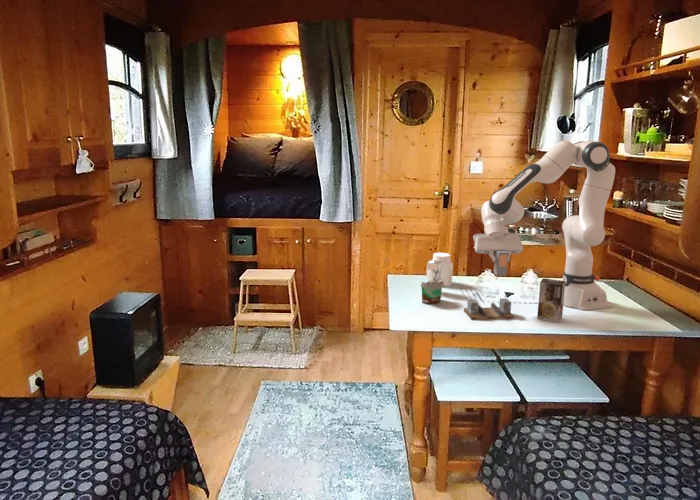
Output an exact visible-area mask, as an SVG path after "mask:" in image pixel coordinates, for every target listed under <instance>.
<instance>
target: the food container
mask: <svg viewBox="0 0 700 500" xmlns="http://www.w3.org/2000/svg"><path fill="white" fill-rule="evenodd" d="M420 287H421V303H422V304H424V305H425V304H426V305H438V304H440V303H441V298H442V292H443V291H442V290H443V287H445V286H444V282H443V279H441V278H438V280H435V281H429V282H428V281H427V282H425V281H421V284H420Z"/></svg>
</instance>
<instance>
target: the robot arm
mask: <svg viewBox="0 0 700 500" xmlns="http://www.w3.org/2000/svg"><path fill="white" fill-rule="evenodd" d="M573 165H575V166H578V167H582V168H586V178H585V180H584V183H583V187H582V189H581V191H580V194H579V197H578V206H579V209H578V215H577V214H576V215H569V216H568V217H566V218H565V219H564V220H563V222H562V224H561V225H562V227H561V229H562V232H563V235H564V242H565V243H564V245H565V253H566V254H565V267H564V271H563V274H562V281H565V292H564V303H563V306H565V307H569V308H573V309H578V310H582V311H591V310H599V309H611V308H612V307H613V305H612V303H611V302H610V301H609V300H608V296H607V292H606V291H605V290H604V289H603V288H602V287H600V285H599V284H597V283H596V282H598V281H600V279H601V278H600V276H598V275H594V274H593V273H592V272H593V263H594V255H593V252H592V249H591V248H592V247H595V246H596V247H597V246H599V245H600V244H601V243H602V242H603V241H604V239H605V237H606V231H605V228H604V221H605V212H606V207H607V203H608V200H609V198H610V194H611V192H612V188H613V185H614V181H615V177H616V167H615V166H614V165H613V163H611V159H610V150H609V148H608V146H607V145H606V144H605V143H603V142H601V141H595V140H582V141H578V142H575V143H572V142H571V141H570V140H569V141H568V140H560V141H559V142H557V143H555V145H554V146H552V147H551V148H549V150H548V151H547V152H546V153H544V155H543V156H542V157H541V158H540V159H539V160H538V161H536V162H534V163H531V164H529V165H527V166H526V167H525V168H524V169H523V170H521V171H519V173H518V174H516V175H515V176H514V177H513V178H512V179H511V180H510V181H509V182H508V183H506V184H505V185H504V186H502V187H501V188H500V189H497V190H496V191H494V193H492V195H491V196H490V199H489V200H487V201H485V202H484V203H483V204H482V206H481V221H482V223H483V225H484V226H483V227H484V228H483V230H484V233H475V234H473V236H472V240H473V242H474V251H475V253H476V254H487V255H488V256H489V258H490V259H491V260H492V263H495V262H497V257H495V255H494V254H495V252H496V250H497V251H506V252H508V260H507V263H509V262H511V258H510V256H511V255H519V254H520V255H521V253H522V252H523V251H524V245H523V243H522V240H521V237H520V236H519V235H518V233H519V232H518V230H517V229H515V228H511V227H508V226H509V225H513V224H516V223H519V222H521V220H522V219H523V217H524V216H525V208H524V206H523V205H522V204H521V203H520V202H519V201H518V200H517V199H516V196H517V195H519V193H521V191H522V190H524V189H525V188H526V187H527V186H528V185H530V184H532V183H535V182H538V183H541V184H552V183H555V182H556V181H557V180H559V179H560V177H562V175H564V173H565V172H566V171H567V170H568V169H569V167H571V166H573ZM595 281H596V282H595Z"/></svg>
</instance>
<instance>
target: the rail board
mask: <svg viewBox="0 0 700 500" xmlns="http://www.w3.org/2000/svg"><path fill="white" fill-rule="evenodd" d="M511 308H512V301H511V300H510V299H509V298H499V306H497V305H496V304H495V303H494V302H491V304H490V307H482V306H481V305H480V304H479V302H478V301H477V299H475V298H468V299H467V305H466V307H464V308H463V312H464V313H465V314H466V315H467V316H468V318H469V319H470V320H472V321H476V320H485V321H486V320H514V319H515V315H513V314H512V312H511V311H512V310H511Z"/></svg>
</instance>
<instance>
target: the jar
mask: <svg viewBox="0 0 700 500" xmlns="http://www.w3.org/2000/svg"><path fill="white" fill-rule="evenodd" d="M431 260H438V261H441V262H442V263H441V264H442V272H441V279H443V282H444V286H443V287H451V286H452V285H453V266H454V264H453V262H452V261H451V254H450V253H447V252H435V253H433V255H432V259H431Z"/></svg>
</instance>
